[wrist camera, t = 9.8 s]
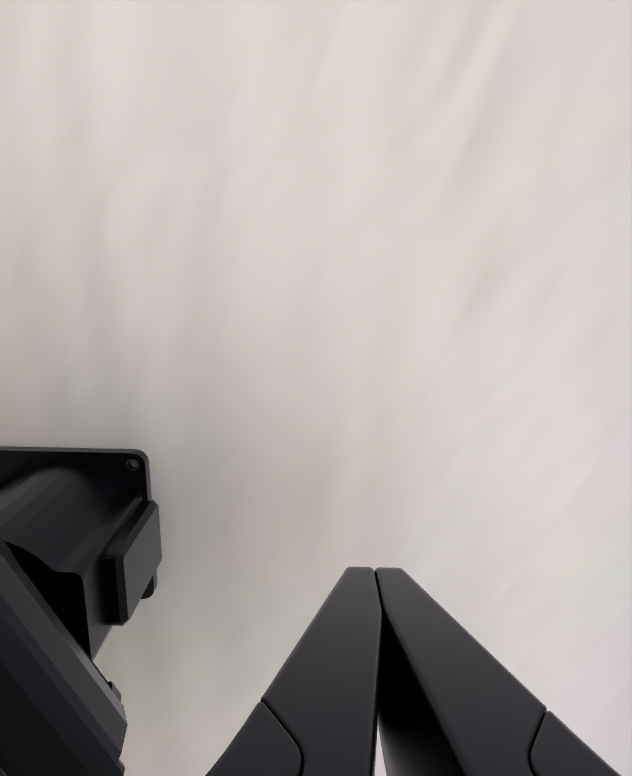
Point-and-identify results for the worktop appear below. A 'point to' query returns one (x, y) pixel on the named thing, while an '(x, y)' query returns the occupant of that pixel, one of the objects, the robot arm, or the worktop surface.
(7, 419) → the worktop surface
